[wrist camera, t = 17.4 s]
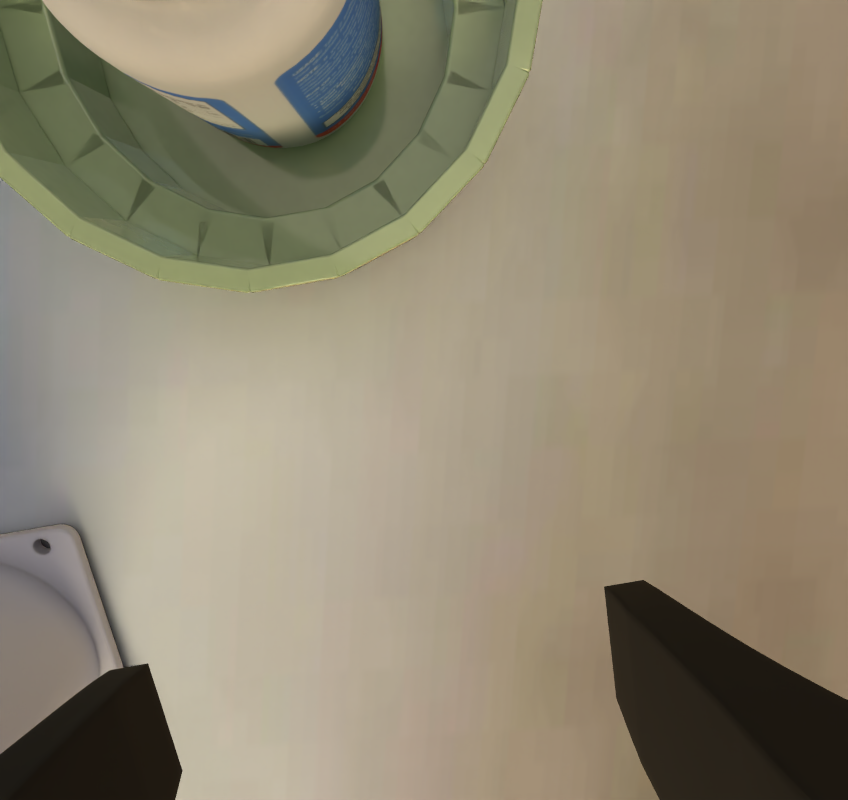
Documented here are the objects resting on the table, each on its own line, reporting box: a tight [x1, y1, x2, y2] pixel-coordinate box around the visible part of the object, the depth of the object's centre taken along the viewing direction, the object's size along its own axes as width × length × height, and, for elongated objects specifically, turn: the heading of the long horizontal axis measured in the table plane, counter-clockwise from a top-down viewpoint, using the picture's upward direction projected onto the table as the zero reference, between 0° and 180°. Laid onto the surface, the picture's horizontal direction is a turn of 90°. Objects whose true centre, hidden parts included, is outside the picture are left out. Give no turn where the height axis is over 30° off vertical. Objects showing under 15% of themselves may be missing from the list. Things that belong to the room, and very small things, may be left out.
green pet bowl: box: [0, 0, 543, 293], centre depth 14 cm, size 12×12×5 cm
